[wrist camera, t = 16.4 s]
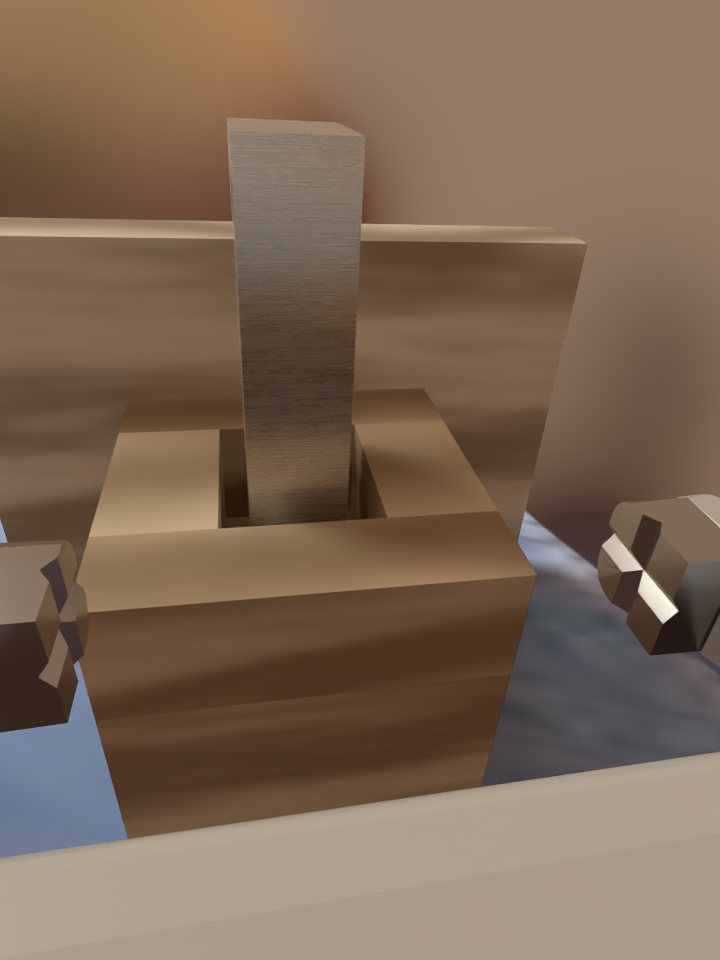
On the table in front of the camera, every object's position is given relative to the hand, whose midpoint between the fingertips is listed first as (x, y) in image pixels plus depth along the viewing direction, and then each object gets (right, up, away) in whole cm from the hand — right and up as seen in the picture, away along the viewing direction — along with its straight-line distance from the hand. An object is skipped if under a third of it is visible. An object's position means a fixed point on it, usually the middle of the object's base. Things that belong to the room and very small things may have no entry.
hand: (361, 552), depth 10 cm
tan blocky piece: (-3, -8, +19) cm, 21 cm away
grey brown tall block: (-2, -2, +14) cm, 14 cm away
